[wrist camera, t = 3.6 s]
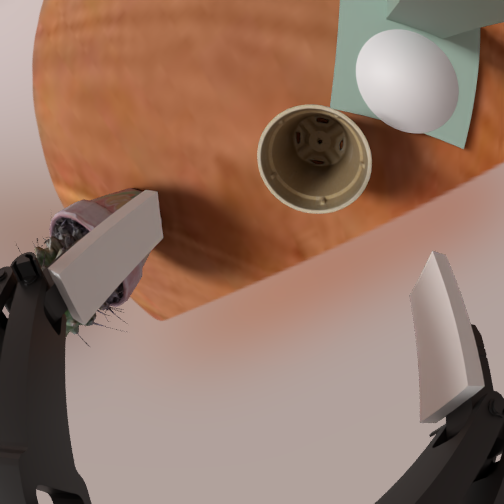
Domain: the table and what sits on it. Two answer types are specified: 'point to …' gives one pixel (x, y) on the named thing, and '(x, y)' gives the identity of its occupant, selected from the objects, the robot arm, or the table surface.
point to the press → (412, 62)
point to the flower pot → (301, 155)
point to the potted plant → (79, 224)
